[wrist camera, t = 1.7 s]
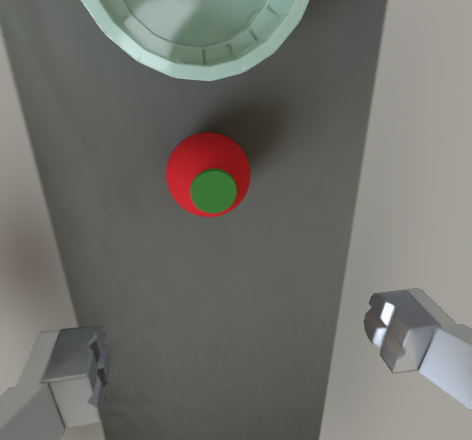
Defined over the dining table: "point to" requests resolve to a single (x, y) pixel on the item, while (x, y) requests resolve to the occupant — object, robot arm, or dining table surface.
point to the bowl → (198, 32)
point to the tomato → (208, 174)
